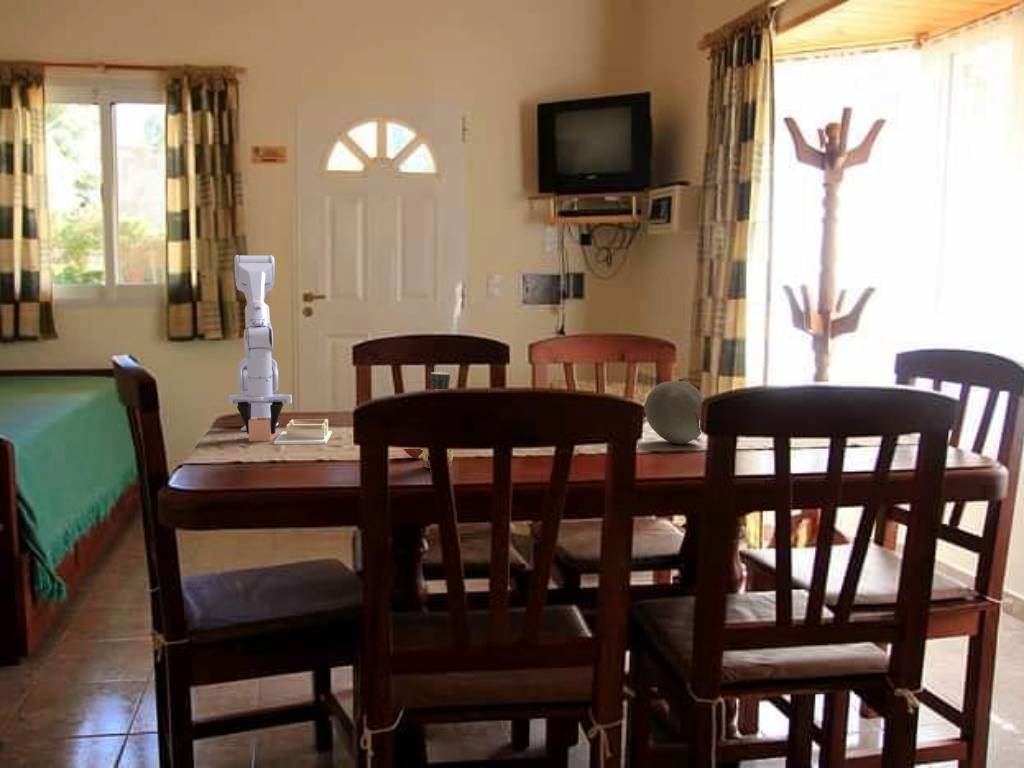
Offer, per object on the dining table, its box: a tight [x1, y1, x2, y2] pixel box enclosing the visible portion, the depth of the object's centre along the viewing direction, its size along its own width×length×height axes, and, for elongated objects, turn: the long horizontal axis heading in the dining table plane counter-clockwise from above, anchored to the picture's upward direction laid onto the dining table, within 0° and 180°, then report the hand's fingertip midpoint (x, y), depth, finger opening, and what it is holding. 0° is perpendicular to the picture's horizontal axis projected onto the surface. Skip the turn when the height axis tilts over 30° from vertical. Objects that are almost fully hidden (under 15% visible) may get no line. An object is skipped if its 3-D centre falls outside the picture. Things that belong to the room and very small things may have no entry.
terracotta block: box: [248, 417, 275, 442], centre depth 230 cm, size 5×5×5 cm
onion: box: [403, 449, 423, 459], centre depth 208 cm, size 6×6×8 cm
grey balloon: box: [644, 380, 705, 445], centre depth 226 cm, size 14×14×15 cm
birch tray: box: [285, 418, 329, 440], centre depth 231 cm, size 9×9×3 cm
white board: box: [273, 430, 333, 445], centre depth 231 cm, size 14×12×1 cm
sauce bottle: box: [422, 371, 454, 469], centre depth 198 cm, size 7×6×20 cm
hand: (261, 433), depth 230 cm, fingers closed on terracotta block, 5 cm apart
